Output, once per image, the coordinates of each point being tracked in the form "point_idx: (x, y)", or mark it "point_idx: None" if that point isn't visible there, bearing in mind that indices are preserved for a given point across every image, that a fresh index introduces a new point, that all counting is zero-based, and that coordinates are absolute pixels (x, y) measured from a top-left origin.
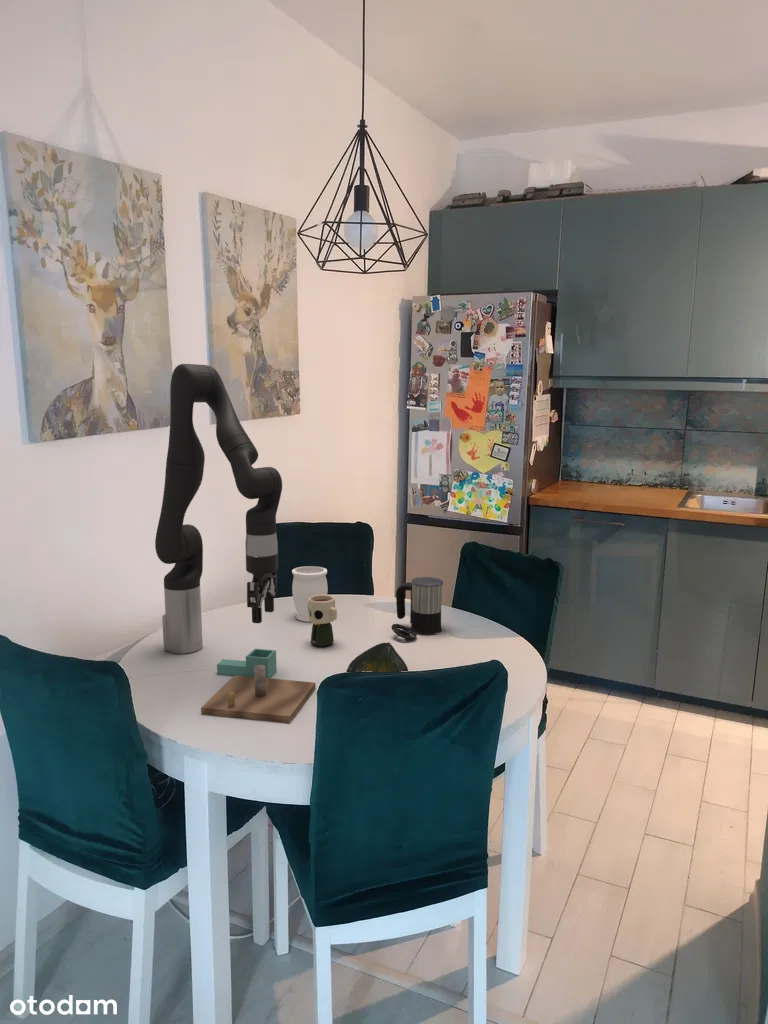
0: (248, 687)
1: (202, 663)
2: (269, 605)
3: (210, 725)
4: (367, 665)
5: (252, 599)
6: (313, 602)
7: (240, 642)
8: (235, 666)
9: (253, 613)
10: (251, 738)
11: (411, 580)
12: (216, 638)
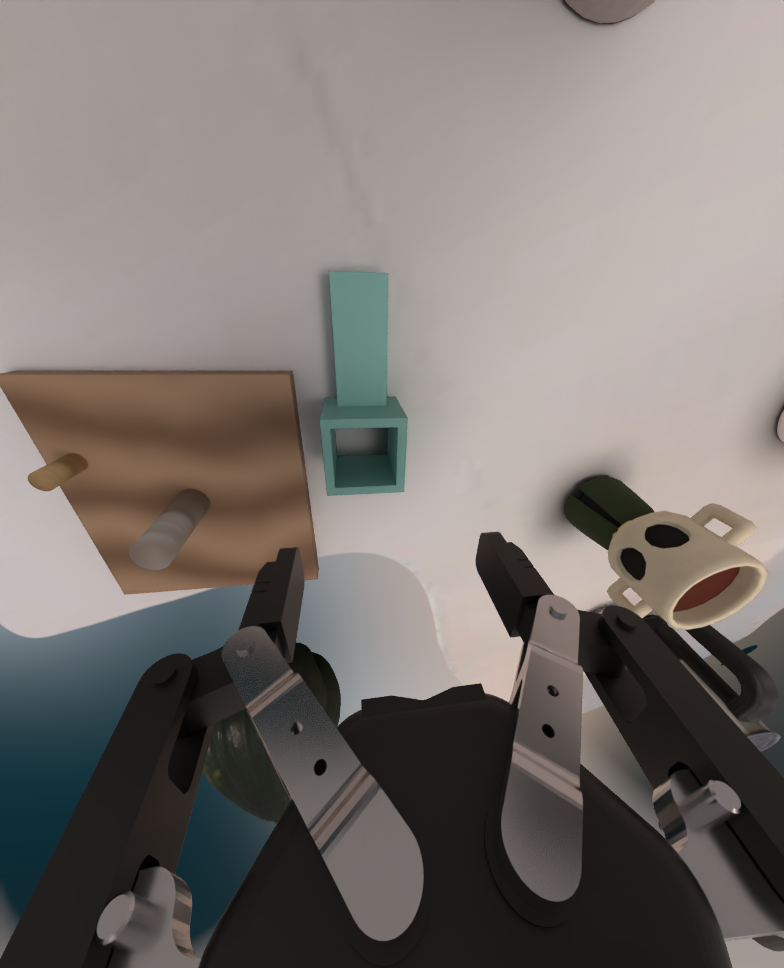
0: (220, 454)
1: (422, 139)
2: (491, 580)
3: None
4: (208, 778)
5: (243, 700)
6: (679, 585)
7: (651, 230)
8: (335, 358)
9: (249, 609)
10: (10, 546)
11: (759, 735)
12: (736, 58)
